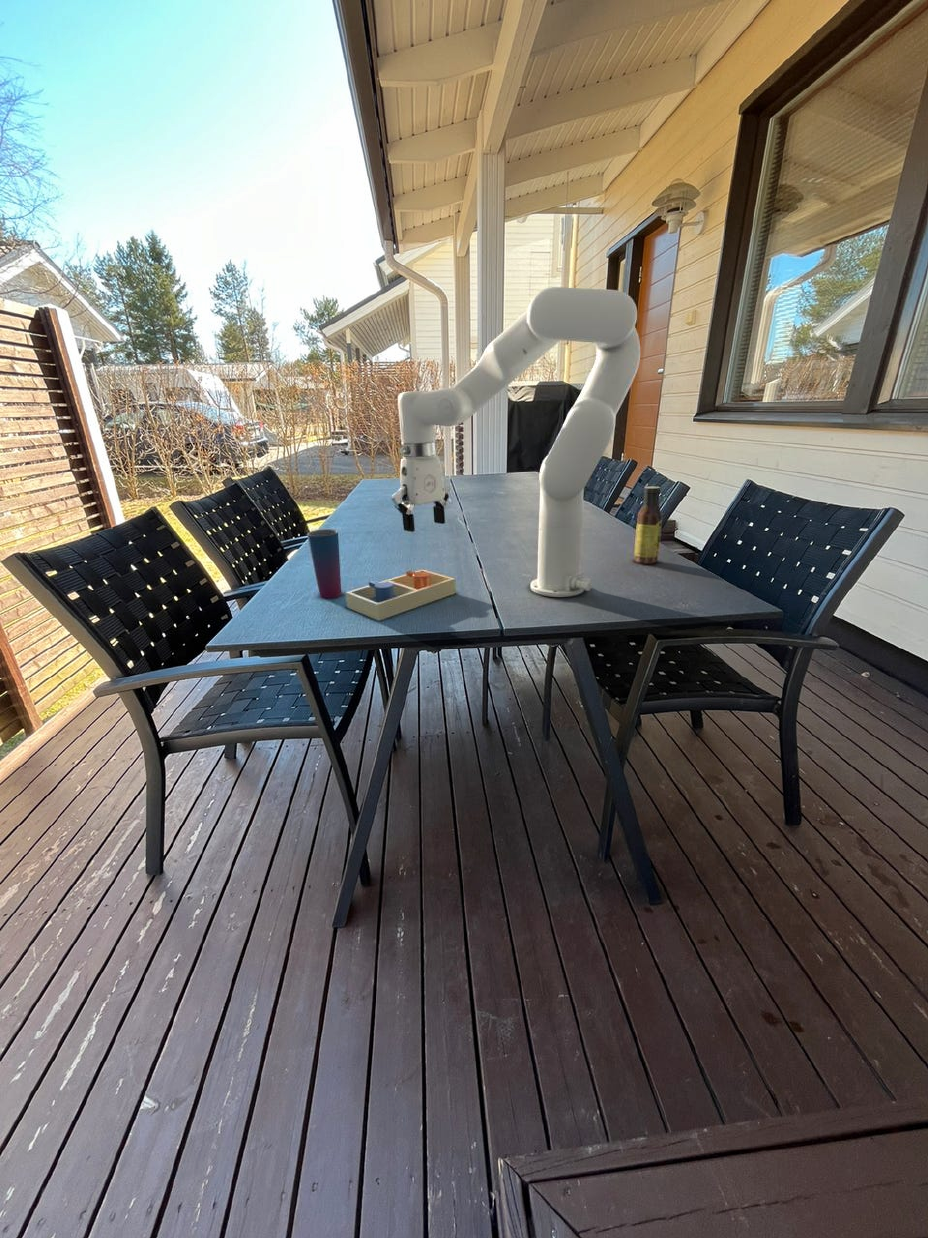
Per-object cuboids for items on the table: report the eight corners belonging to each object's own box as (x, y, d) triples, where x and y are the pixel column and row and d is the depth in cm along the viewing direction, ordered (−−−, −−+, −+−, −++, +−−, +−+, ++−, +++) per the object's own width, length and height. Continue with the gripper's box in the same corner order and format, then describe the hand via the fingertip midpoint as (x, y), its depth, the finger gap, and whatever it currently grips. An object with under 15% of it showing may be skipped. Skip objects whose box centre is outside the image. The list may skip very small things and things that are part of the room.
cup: (338, 600, 121) (330, 536, 115) (310, 599, 122) (301, 535, 116) (349, 590, 127) (342, 529, 121) (323, 589, 128) (315, 528, 122)
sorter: (455, 593, 123) (455, 578, 122) (378, 620, 109) (377, 604, 107) (423, 583, 131) (422, 569, 129) (347, 607, 116) (345, 592, 115)
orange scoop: (434, 592, 122) (433, 573, 121) (421, 596, 120) (420, 577, 118) (415, 586, 127) (414, 568, 125) (402, 590, 124) (401, 572, 123)
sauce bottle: (660, 564, 140) (670, 488, 132) (637, 565, 140) (645, 489, 133) (653, 558, 146) (661, 485, 138) (630, 558, 146) (637, 485, 139)
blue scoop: (398, 603, 115) (396, 584, 114) (383, 608, 113) (382, 589, 111) (379, 597, 120) (377, 578, 118) (365, 601, 117) (363, 582, 115)
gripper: (400, 455, 109) (407, 536, 116) (458, 447, 121) (461, 522, 127) (378, 454, 114) (386, 532, 121) (435, 447, 125) (440, 518, 132)
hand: (424, 526), depth 124 cm, fingers open, 9 cm apart
